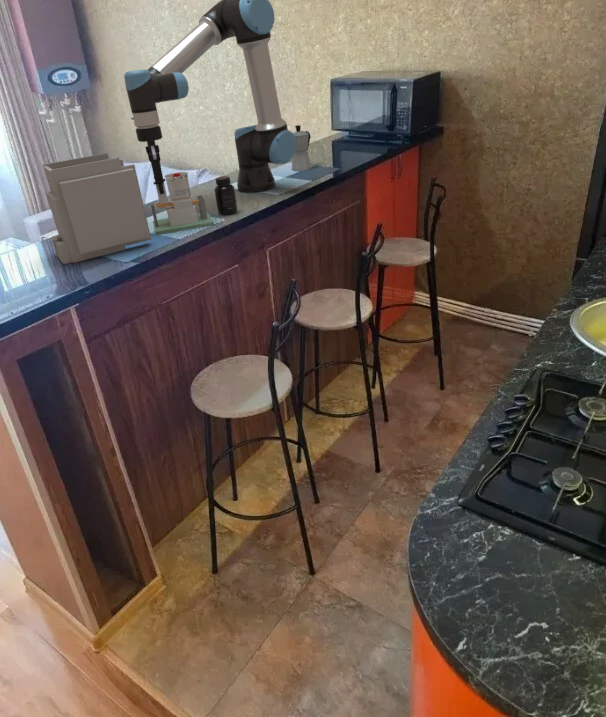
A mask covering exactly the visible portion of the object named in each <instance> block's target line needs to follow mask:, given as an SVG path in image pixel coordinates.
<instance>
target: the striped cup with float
mask: <svg viewBox="0 0 606 717" xmlns="http://www.w3.org/2000/svg"><path fill="white" fill-rule="evenodd" d="M163 178H164V179H165V182H166V186H167V189H168V190H167V191H168V194H169V195H168V196H169V198H170V202H172V200H171V197H177V196H184V195H189V196H190V198H191V199H192V196H191V188H190V181H189V172H186V171H178V172H177V171H176V172H171V173H167V174H165V175H164V176H163Z"/></svg>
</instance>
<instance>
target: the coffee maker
mask: <svg viewBox="0 0 606 717" xmlns="http://www.w3.org/2000/svg"><path fill="white" fill-rule="evenodd" d="M294 126H295V132H292V133H293V134H294V135H295V138H296V142H297V146H296V151H295V154H294V155H293V158H292V159H291V161H292V162H291V163H292V164H291V171H293V172H304V171H305V170H306V171H309V170H312V166H311V165H312V164H311V160H310V156H309V153H308V150H309V146H310V141H311V134H310V132H309V130H306V131H304V130H301V126H302V125H300V124H299V125H294Z"/></svg>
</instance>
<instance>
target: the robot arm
mask: <svg viewBox="0 0 606 717" xmlns="http://www.w3.org/2000/svg"><path fill="white" fill-rule="evenodd" d="M275 18H276V16H275V11H274V8H273V6H272V3H271V1H269V0H220V1H218V2H217V3H216V4H215V5H213V6H212V7H211V8H209V9H208V11H206V13H204V14H203V15H202V16H201V17H200V18H199V19H198V24H197V25H196V26H195V27H194V28H193V29H191V31H189V32H188V33H187V34H186V35H185V36H184V37H183V38H181V39H180V40H179V41H178V42H177V43H176V44H174V45H173V47H172V48H170V49H169V50H168V51H167V52H166V53H165V54H163V56H161V57H160V58H159V59H158V60H156V61H155V63H154V64H152V65H151V66H150V67H149V68H147V69H137V70H129V71H126V72H125V73H124V74H123V77H124V78H123V79H124V84H125V91H126V93H127V97H128V102H129V106H130V111H131V113H132V114H131V115H132V116H131V117H130V119H131V121H133V123H134V127H136V129H135V134H136V138H137V141H138V142H141V143H146V146H145V152H146V154H147V158H148V160H149V162H150V164H151V169H152V173H153V179H154V181H153V185H155V187H156V193H157V197H158V201H159V202H158V203H160V204H166V203H168V202H169V200H168V199H169V198H168V195H167V190H166V189H167V188H166V185H165V182H166V178H164V176H163V170H162V166H161V161H162V160H161V156H160V146H159V145H158V144H156V141H158V140H161V139H162V138H163V133H162V130H161V126H160V125H159V124H160V123H161V122H160V117H159V113H158V109H157V108H158V107H157V104H159V103H163V102H171V101H176V100H177V101H180V100H181V99H185V98H187V96H188V94H189V91H190V90H189V82H188V79H187V78H186V76H185V75H184V74H183V73H184V72H185V71H186V70H188V68H190V67H192V65H193V64H194V63H195V62H196V61H198V59H200V58H201V57H202V56H203V55H204V54H205V53H206V52H208V50H210V48H212V47H213V46H218V45H221V43H222V42H224V41H225V40H227V39H230V38H234V37H235V39H236V44H237V46H239V47H240V48H241V49H242V52H243V55H244V56H243V57H244V61H245V65H246V66H245V67H246V71H247V75H248V82H249V85H250V90H251V95H252V99H253V104H254V109H255V114H256V119H257V124H254V125H249V126H243V127H240V128H237V129H235V131H234V143H235V147H236V148H235V150H236V155H237V161H238V162H237V163H238V168H239V169H238V175H237V182H236V186H237V188H236V189H237V191H238V192H243V193H257V192H263V191H268V190H271V189H274V188H275V187H276V180H275V178H274V175H273V173H272V169H271V168H270V164H274V165H282V164H286V163H289V162H290V161H292V158H293V155H294V154H295V151H296V146H297V142H296V138H295V135H294V134H293V133H294V132H292V131H291V130H289V128H288V124H287V123H288V122H287V121H286V120H285V119H283V118H282V114H281V108H280V103H279V98H278V92H277V87H276V83H275V81H276V80H275V76H274V71H273V70H274V69H273V66H272V60H271V55H270V50H269V42H270V40H271V38H272V36H271V31H272V29H273V28H274V24H275V20H276V19H275Z"/></svg>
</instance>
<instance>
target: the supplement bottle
mask: <svg viewBox="0 0 606 717" xmlns="http://www.w3.org/2000/svg"><path fill="white" fill-rule="evenodd" d="M215 185H216V186H215V187H214V196H215V201H216V207H217V212H218V214H219V215H220V216H230V215H234V214H236V213H237V212H238V204H237V197H236V190H235V186H234V185H233V184H232V183H231V178H230V176H227V175H224V176H219V177H218V176H217V177H215Z"/></svg>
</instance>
